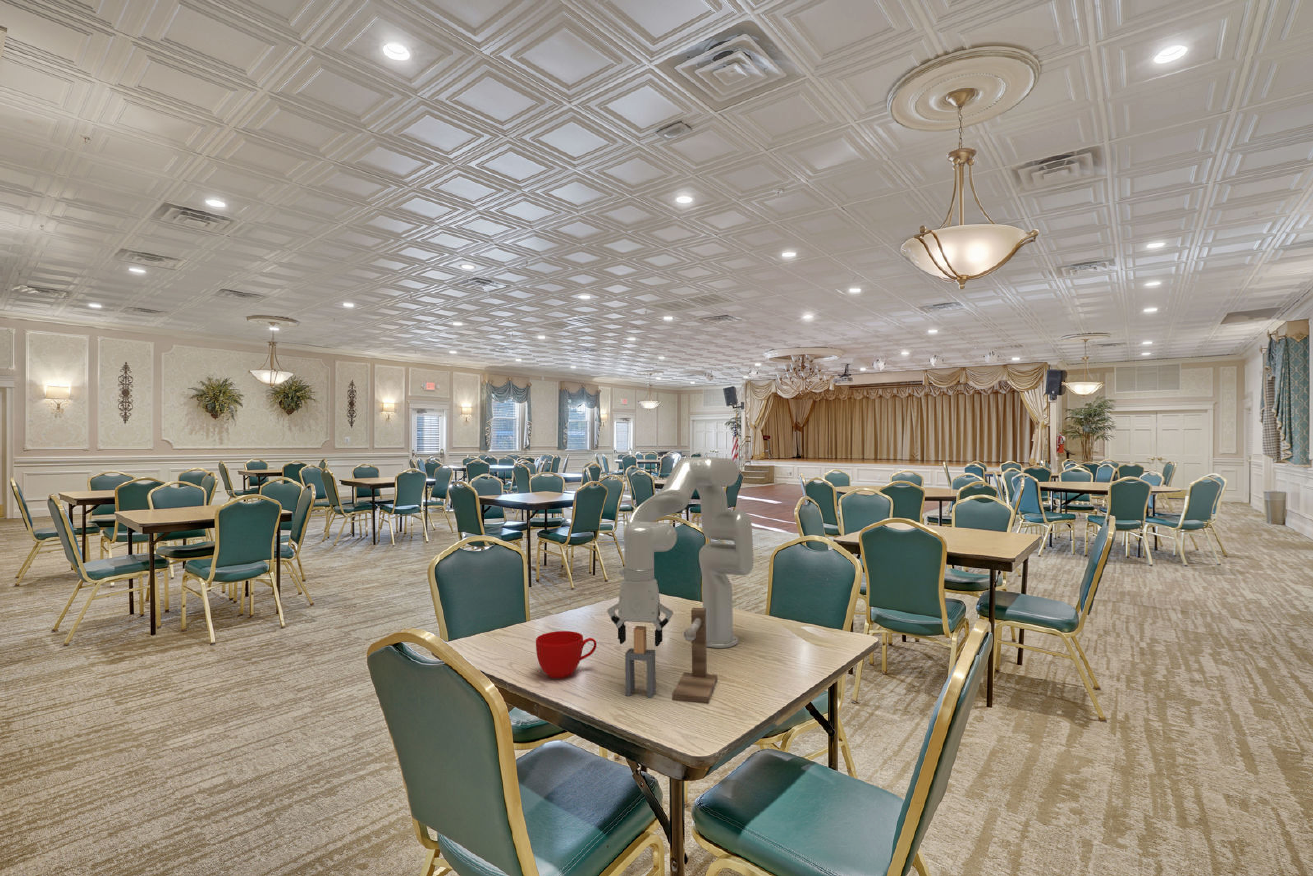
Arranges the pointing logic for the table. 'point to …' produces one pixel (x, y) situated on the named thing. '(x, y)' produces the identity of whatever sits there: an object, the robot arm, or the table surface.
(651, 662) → the grey arch stand
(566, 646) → the ceramic cup
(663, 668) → the table surface
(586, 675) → the table surface
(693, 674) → the hook stand
